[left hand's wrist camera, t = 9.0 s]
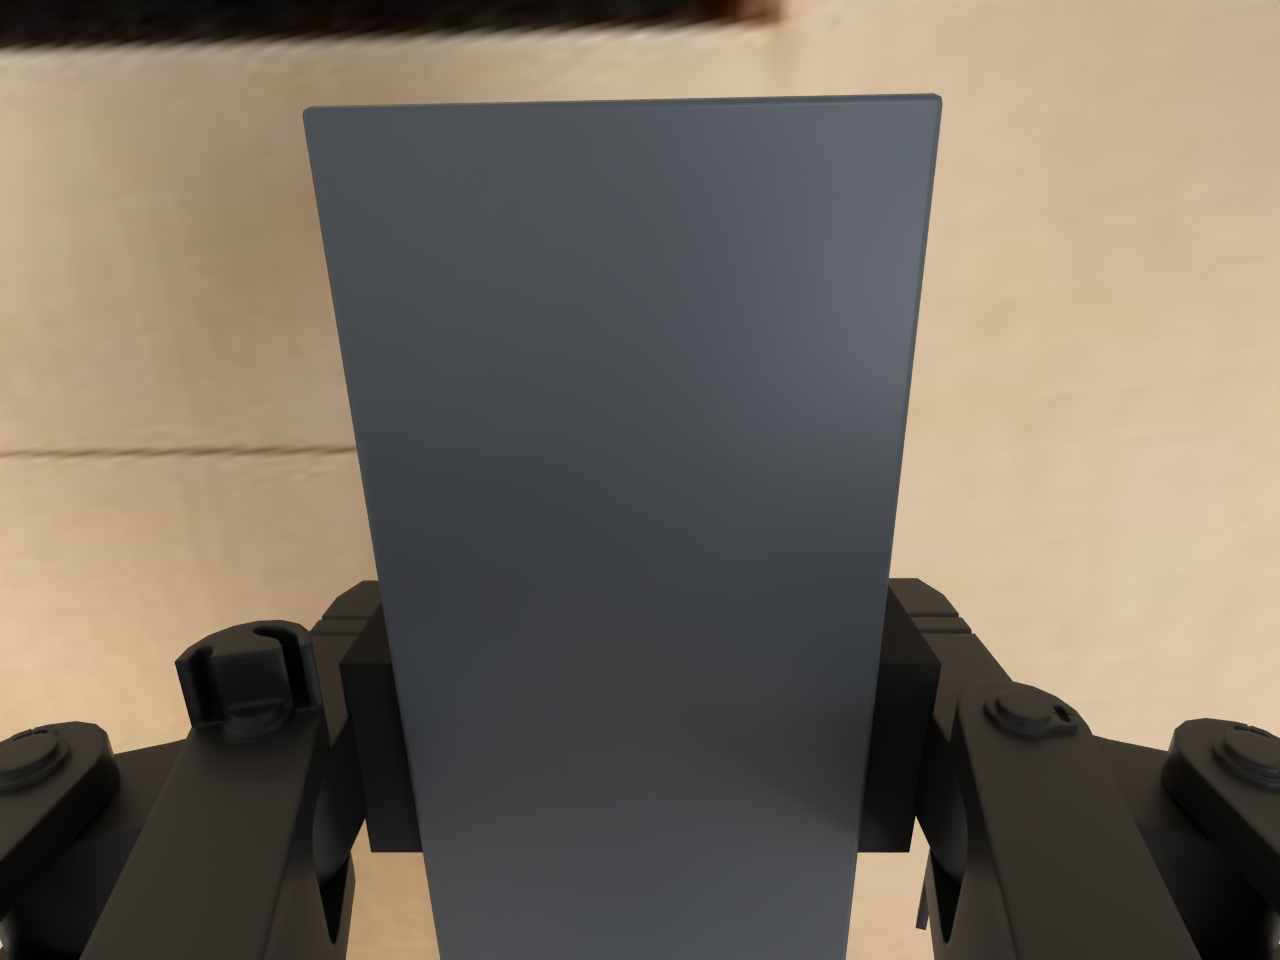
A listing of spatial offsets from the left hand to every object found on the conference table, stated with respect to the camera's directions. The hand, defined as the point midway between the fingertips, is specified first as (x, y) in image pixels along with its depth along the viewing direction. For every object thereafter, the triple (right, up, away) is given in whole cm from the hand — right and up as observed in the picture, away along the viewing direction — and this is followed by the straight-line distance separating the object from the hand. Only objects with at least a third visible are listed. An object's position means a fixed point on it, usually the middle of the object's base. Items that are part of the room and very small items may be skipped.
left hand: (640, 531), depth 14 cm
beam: (0, -18, +7) cm, 19 cm away
